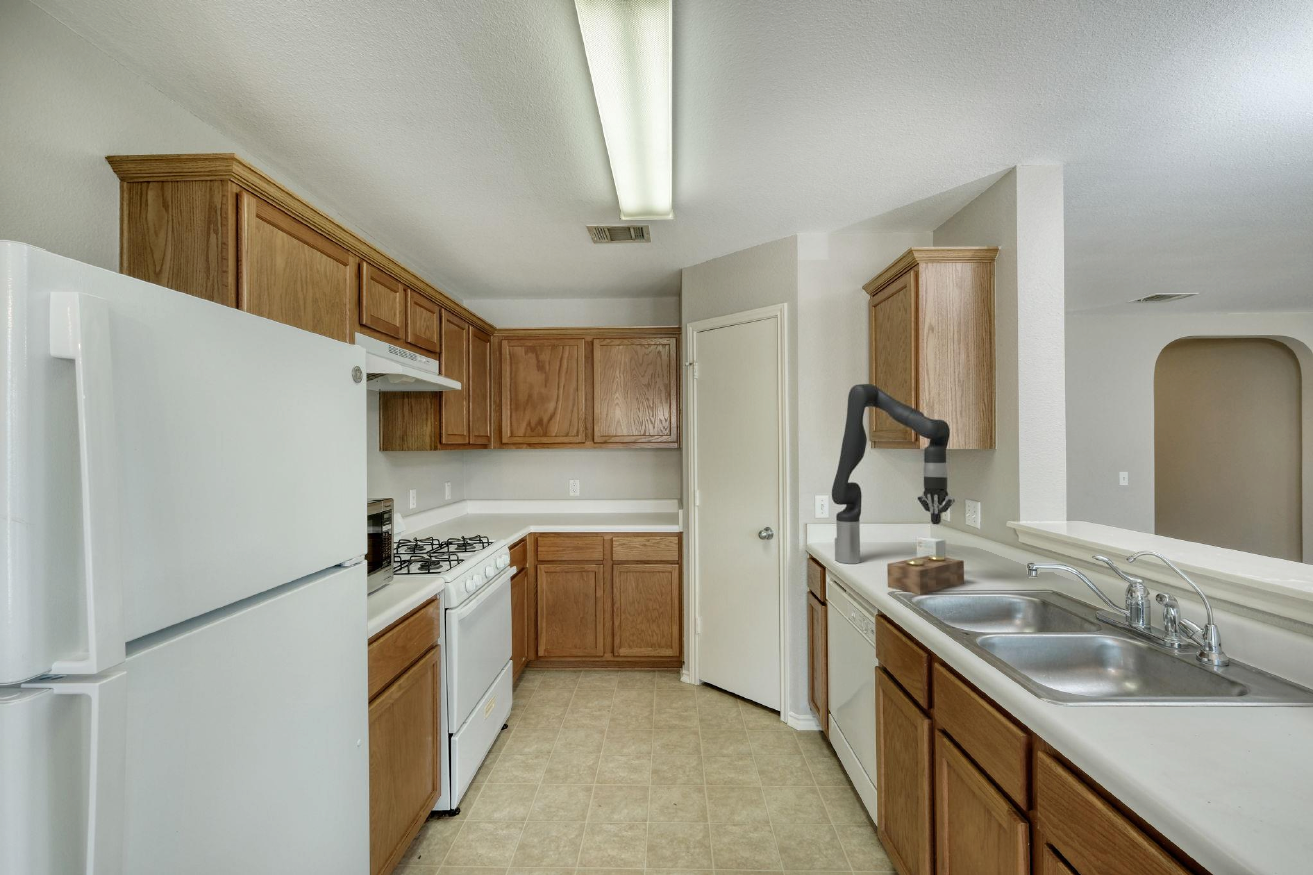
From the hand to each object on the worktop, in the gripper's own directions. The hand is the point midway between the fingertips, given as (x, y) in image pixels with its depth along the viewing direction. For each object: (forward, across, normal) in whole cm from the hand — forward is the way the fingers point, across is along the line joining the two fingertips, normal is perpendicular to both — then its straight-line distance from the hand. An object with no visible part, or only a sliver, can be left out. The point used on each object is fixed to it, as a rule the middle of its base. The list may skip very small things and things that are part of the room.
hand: (936, 524), depth 193 cm
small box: (+21, -9, +11) cm, 26 cm away
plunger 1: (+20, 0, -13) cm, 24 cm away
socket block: (+21, 0, -7) cm, 22 cm away
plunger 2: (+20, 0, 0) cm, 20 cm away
